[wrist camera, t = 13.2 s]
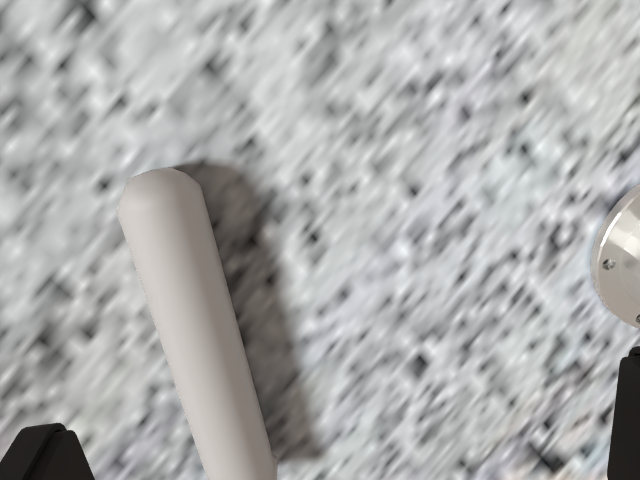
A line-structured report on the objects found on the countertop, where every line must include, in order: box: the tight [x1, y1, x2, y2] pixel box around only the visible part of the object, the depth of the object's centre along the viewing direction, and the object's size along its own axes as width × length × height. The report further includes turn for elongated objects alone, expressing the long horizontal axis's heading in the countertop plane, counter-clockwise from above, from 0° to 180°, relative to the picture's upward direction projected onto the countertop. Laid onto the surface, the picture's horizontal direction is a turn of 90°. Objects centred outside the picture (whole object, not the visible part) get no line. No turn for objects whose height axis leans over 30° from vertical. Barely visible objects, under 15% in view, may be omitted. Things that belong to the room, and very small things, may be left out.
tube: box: [117, 167, 278, 480], centre depth 37 cm, size 5×5×25 cm
